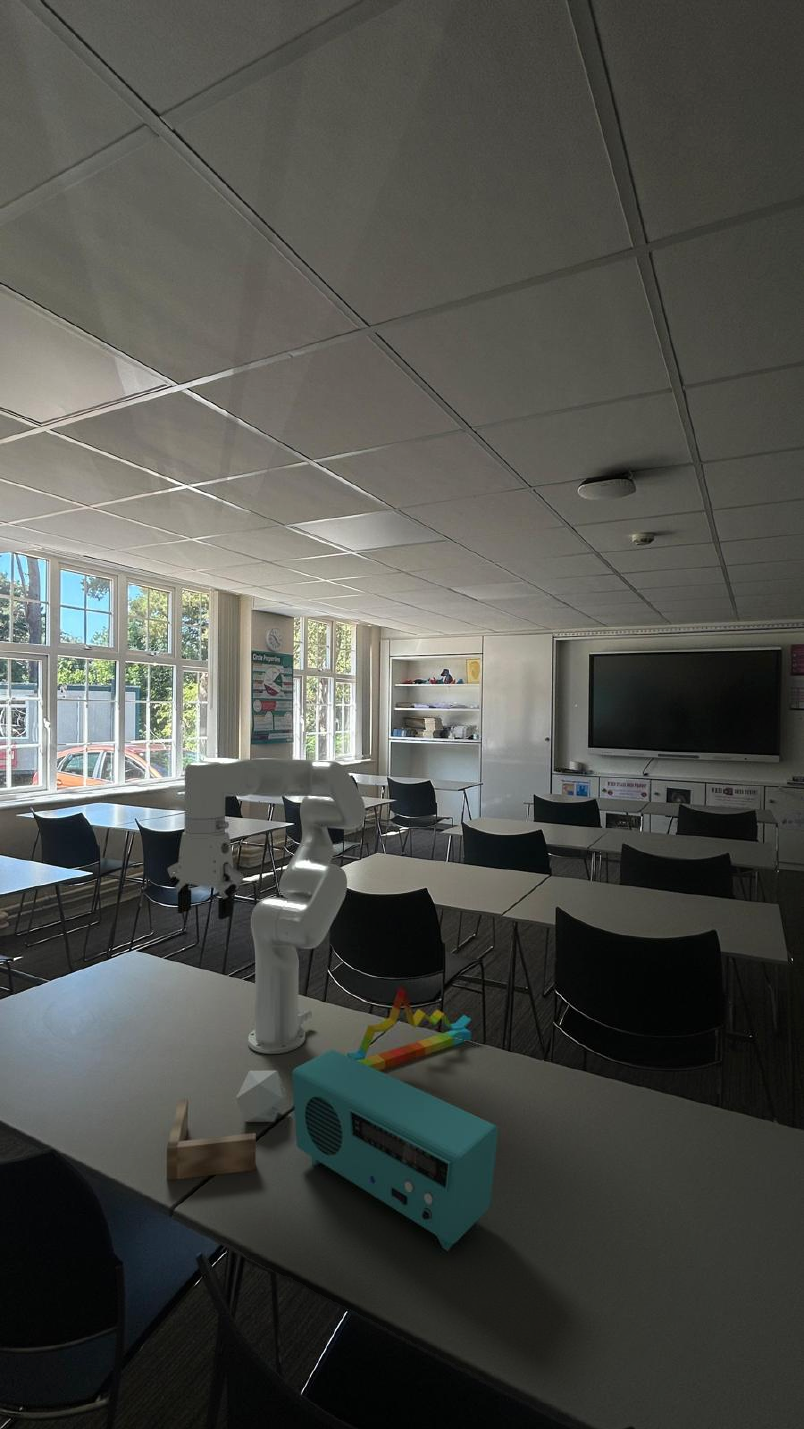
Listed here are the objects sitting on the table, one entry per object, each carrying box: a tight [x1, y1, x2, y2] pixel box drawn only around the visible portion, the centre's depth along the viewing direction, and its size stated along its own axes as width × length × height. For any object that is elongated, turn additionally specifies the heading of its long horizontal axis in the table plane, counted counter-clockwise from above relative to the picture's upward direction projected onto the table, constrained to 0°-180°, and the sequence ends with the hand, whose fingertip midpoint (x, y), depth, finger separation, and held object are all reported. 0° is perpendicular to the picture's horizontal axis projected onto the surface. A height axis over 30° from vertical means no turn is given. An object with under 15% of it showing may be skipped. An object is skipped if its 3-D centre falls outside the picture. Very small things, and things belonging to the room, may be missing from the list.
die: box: [235, 1070, 287, 1123], centre depth 121 cm, size 8×9×10 cm
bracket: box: [166, 1098, 257, 1181], centre depth 109 cm, size 11×19×5 cm, turn 56°
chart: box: [346, 986, 472, 1071], centre depth 144 cm, size 30×3×15 cm, turn 124°
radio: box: [291, 1049, 499, 1252], centre depth 102 cm, size 34×10×15 cm, turn 50°
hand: (204, 914), depth 129 cm, fingers open, 9 cm apart
